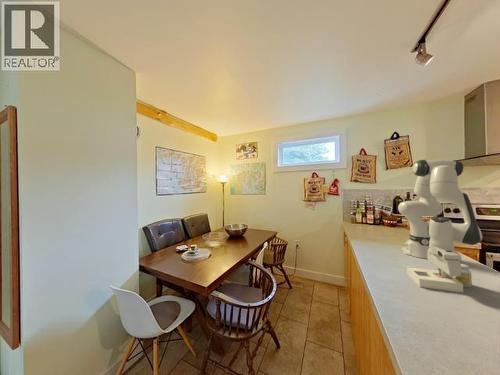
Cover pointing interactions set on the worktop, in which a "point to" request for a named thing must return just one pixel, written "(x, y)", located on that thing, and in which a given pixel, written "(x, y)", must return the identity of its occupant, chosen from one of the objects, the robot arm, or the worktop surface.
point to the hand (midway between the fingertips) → (442, 277)
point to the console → (434, 280)
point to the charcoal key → (421, 274)
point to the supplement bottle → (465, 276)
